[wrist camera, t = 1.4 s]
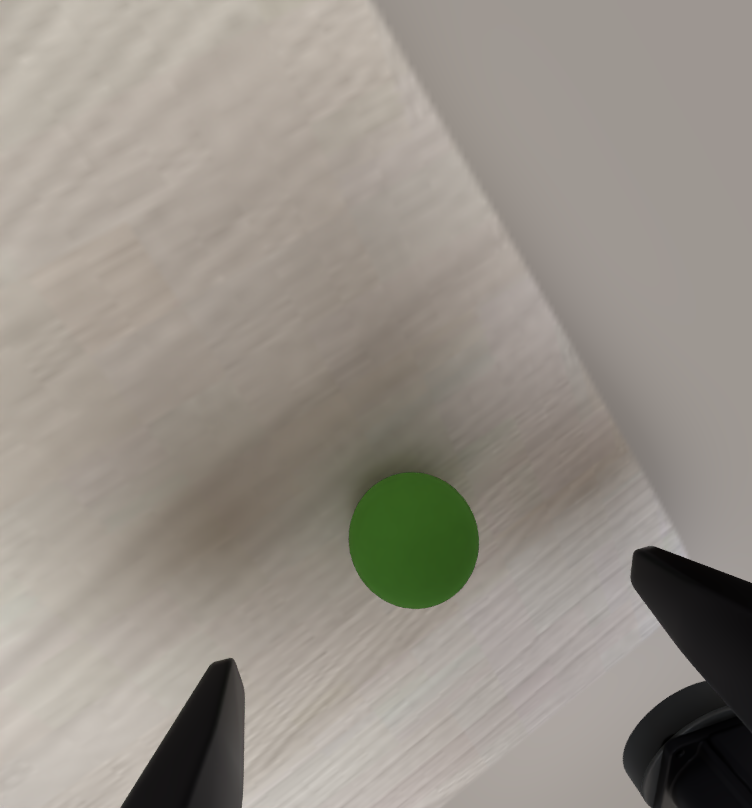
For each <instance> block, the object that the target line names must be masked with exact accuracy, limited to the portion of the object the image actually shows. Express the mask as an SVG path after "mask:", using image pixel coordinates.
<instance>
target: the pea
mask: <svg viewBox="0 0 752 808" xmlns="http://www.w3.org/2000/svg"><path fill="white" fill-rule="evenodd" d="M349 547H350V554H351V558H352V561H353V564H354V567H355V569H356V571H357V573H358V575H359V576H360V578H361V579H362V581H363V582H364V583H365V585H366V586H367V587H368V588H369V589H370V590H371V591H372V592H373V593H375V594H376V595H377V596H378V597H380V598H381V599H383V600H384V601H386V602H388V603H391V604H393V605H396V606H399V607H403V608H411V609H422V608H428V607H432V606H435V605H438V604H440V603H443V602H445V601H446V600H448V599H450V598H451V597H453V596H454V595H455V594H456V593H457V592H459V591H460V589H461V588H462V587H463V586H464V585H465V584H466V582H467V581H468V579H469V577H470V576H471V574H472V572H473V570H474V567H475V564H476V560H477V556H478V550H479V536H478V529H477V524H476V521H475V518H474V515H473V513H472V511H471V509H470V507H469V505H468V504H467V502H466V501H465V499H464V498H463V497H462V496H461V495H460V494H459V493H458V491H457V490H456V489H455V488H453V487H452V486H451V485H449V484H448V483H446V482H445V481H443V480H441V479H439V478H437V477H434V476H431V475H428V474H424V473H415V472H407V473H400V474H396V475H392V476H390V477H387V478H385V479H383V480H381V481H380V482H378V483H377V484H375V485H374V486H373V487H372V488H370V489H369V490H368V491H367V492H366V494H365V495H364V496H363V497H362V499H361V500H360V502H359V503H358V505H357V507H356V509H355V511H354V514H353V516H352V519H351V523H350V529H349Z"/></svg>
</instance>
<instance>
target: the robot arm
mask: <svg viewBox="0 0 752 808" xmlns="http://www.w3.org/2000/svg"><path fill="white" fill-rule="evenodd" d="M631 582H632V585H633V587H634V589H635V590H636V591H637V593H638V594H639V596H640V597H641V598H642V600H643V601H644V602H645V604H646V605H647V606H648V608H649V609H650V610H651V612H652V613H653V614H654V616H655V617H656V618H657V620H658V621H659V623H660V624H661V625H662V627H663V628H664V629H665V631H666V632H667V633H668V635H669V636H670V637H671V639H672V640H673V641H674V643H675V644H676V645H677V647H678V648H679V649H680V650H681V652H682V653H683V654H684V655H685V657H686V658H687V659H688V660H689V661H690V663H691V664H692V665H693V666H694V667H695V668H696V670H697V671H698V672H699V673H700V674H701V675H702V676H703V678H704V679H705V680H706V681H707V682H708V683H709V684H710V686H711V687H712V688H713V689H714V690H715V691H716V692H717V694H718V695H719V696H720V697H721V698H722V699H723V701H724V702H725V703H726V704H727V705H728V706H729V707H730V709H731V710H732V711H733V712H734V713H735V714H736V715H737V716H736V717H734V718H731V719H728V720H725V721H722V722H719V723H716V724H713V725H710V726H708V727H705V728H702V729H699V730H696V731H693V732H690V733H687V734H684V735H682V736H679V737H676V738H673V739H671V740H669V741H668V742H667V743H666V744H665V746H664V749H663V755H662V760H661V766H660V771H659V777H658V783H657V788H656V794H655V799H654V805H653V808H752V583H750V582H748V581H745V580H742V579H740V578H737V577H734V576H732V575H729V574H726V573H724V572H721V571H718V570H716V569H713V568H711V567H708V566H705V565H703V564H700V563H697V562H695V561H692V560H689V559H687V558H684V557H681V556H679V555H676V554H673V553H671V552H668V551H665V550H663V549H660V548H657V547H654V546H648V547H644V548H640V549H637V550H635V551H634V553H633V558H632V567H631ZM244 719H245V693H244V686H243V683H242V680H241V677H240V674H239V671H238V668H237V665H236V663H235V661H234V659H233V658H228V659H224V660H220V661H216V662H214V663H212V664H211V665H210V666H209V667H208V669H207V671H206V672H205V674H204V675H203V677H202V679H201V680H200V682H199V683H198V685H197V686H196V688H195V690H194V691H193V693H192V694H191V696H190V698H189V699H188V701H187V702H186V704H185V706H184V707H183V709H182V710H181V712H180V714H179V715H178V717H177V718H176V720H175V722H174V723H173V725H172V726H171V728H170V730H169V731H168V733H167V734H166V736H165V738H164V739H163V741H162V742H161V744H160V745H159V747H158V749H157V750H156V752H155V753H154V755H153V757H152V758H151V760H150V761H149V763H148V765H147V766H146V768H145V769H144V771H143V773H142V774H141V776H140V777H139V779H138V781H137V782H136V784H135V785H134V787H133V789H132V790H131V792H130V793H129V795H128V797H127V798H126V800H125V801H124V803H123V804H122V806H121V808H242V798H243V777H244Z"/></svg>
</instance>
